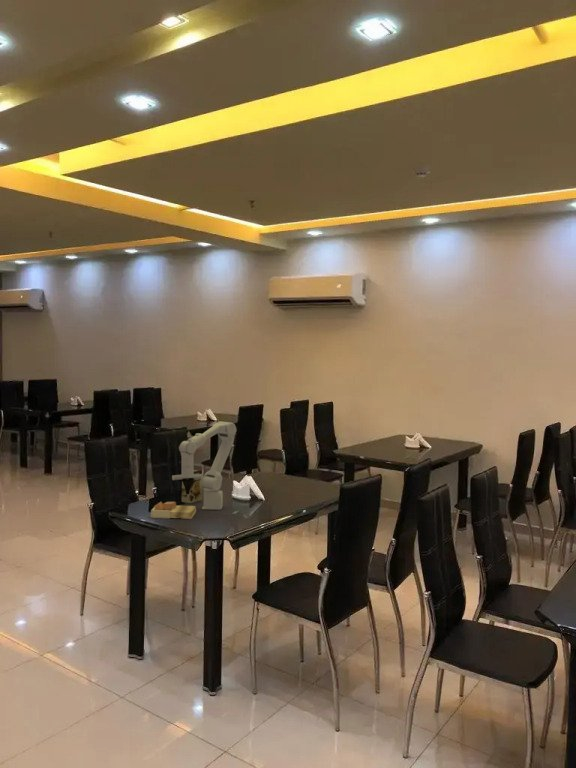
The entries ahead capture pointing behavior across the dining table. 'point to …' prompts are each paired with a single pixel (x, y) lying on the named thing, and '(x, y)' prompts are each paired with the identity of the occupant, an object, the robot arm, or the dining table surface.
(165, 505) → the tile
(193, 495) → the coffee box
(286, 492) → the dining table surface
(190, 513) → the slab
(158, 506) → the tile
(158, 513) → the tray
